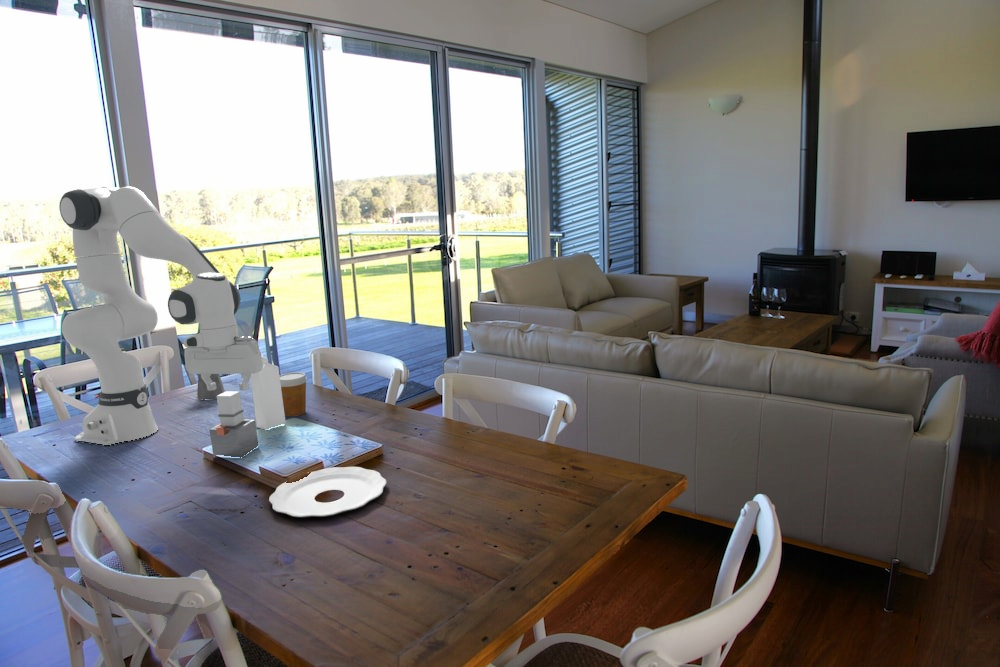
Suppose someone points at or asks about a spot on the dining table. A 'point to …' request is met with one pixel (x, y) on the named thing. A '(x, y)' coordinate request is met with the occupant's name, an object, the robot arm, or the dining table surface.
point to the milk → (267, 396)
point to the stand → (234, 439)
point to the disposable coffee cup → (293, 393)
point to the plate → (301, 494)
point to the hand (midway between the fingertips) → (228, 389)
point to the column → (230, 409)
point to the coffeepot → (212, 394)
